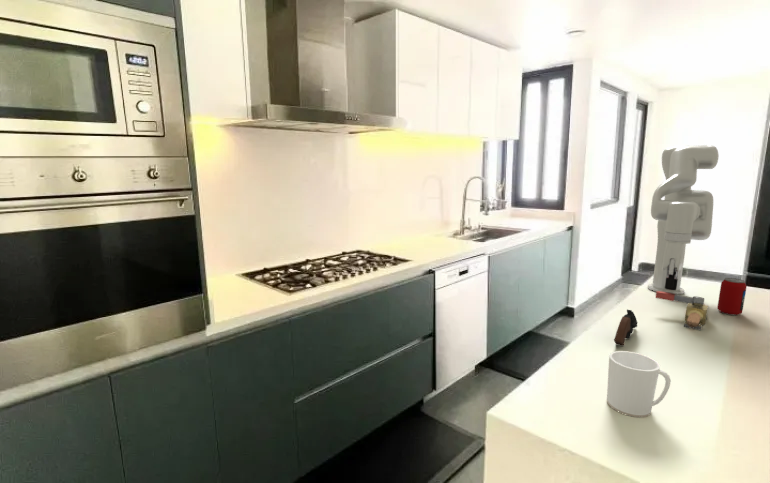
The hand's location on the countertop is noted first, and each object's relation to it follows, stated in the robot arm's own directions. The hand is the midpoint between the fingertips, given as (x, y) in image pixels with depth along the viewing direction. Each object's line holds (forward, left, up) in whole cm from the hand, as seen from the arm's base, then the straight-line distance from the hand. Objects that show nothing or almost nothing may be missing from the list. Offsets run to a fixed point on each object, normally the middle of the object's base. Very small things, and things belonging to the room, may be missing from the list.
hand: (670, 289), depth 143 cm
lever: (+6, +3, -2) cm, 7 cm away
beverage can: (-12, +16, -8) cm, 22 cm away
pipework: (+6, +8, -8) cm, 13 cm away
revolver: (+38, -5, -8) cm, 39 cm away
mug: (+78, +4, -8) cm, 78 cm away
